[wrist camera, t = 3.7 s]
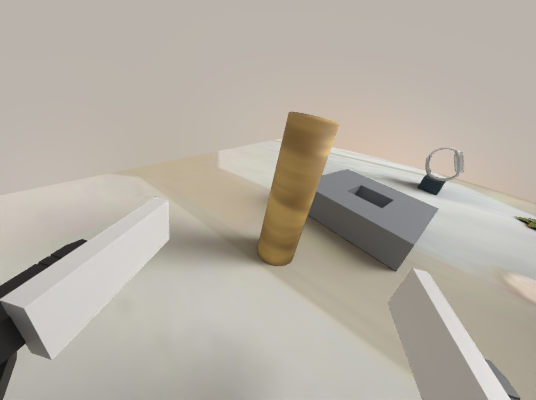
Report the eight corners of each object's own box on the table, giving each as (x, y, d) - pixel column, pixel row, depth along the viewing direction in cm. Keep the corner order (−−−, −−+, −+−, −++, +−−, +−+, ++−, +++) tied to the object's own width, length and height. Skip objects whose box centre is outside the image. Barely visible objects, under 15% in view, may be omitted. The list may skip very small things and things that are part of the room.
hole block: (340, 187, 44) (347, 169, 43) (424, 229, 35) (438, 208, 34) (291, 204, 34) (298, 181, 32) (396, 271, 25) (414, 244, 23)
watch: (445, 199, 52) (475, 155, 47) (410, 184, 56) (433, 143, 51) (448, 194, 56) (475, 153, 51) (414, 181, 60) (437, 142, 55)
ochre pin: (274, 235, 26) (308, 113, 19) (300, 255, 24) (348, 125, 17) (249, 247, 23) (278, 110, 17) (275, 271, 21) (321, 124, 14)
